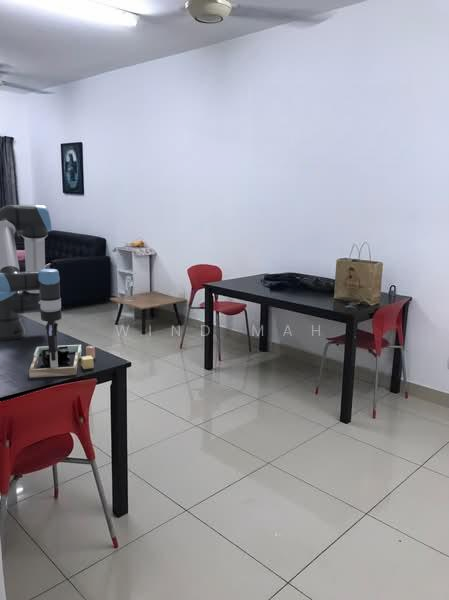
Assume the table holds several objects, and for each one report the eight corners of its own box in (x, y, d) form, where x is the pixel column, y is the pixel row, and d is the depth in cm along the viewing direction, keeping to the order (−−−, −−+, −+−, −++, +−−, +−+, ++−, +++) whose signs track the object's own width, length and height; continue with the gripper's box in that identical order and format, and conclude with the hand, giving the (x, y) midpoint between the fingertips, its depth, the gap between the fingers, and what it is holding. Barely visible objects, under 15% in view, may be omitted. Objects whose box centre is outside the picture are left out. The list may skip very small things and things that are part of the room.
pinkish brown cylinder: (86, 357, 204) (86, 345, 203) (95, 356, 205) (94, 345, 204) (86, 359, 201) (85, 348, 200) (95, 359, 202) (94, 348, 200)
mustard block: (81, 366, 194) (81, 356, 193) (91, 364, 196) (90, 355, 195) (83, 369, 191) (83, 360, 190) (93, 367, 192) (93, 358, 192)
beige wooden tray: (35, 361, 197) (35, 354, 196) (78, 359, 201) (78, 352, 201) (29, 377, 181) (28, 370, 180) (76, 374, 185) (75, 367, 184)
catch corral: (37, 353, 207) (36, 346, 206) (81, 350, 211) (81, 344, 211) (33, 361, 197) (33, 355, 196) (80, 359, 201) (80, 352, 201)
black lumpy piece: (66, 359, 201) (65, 344, 199) (71, 364, 195) (70, 348, 194) (41, 363, 195) (40, 348, 194) (46, 369, 190) (45, 353, 188)
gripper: (42, 305, 188) (46, 361, 193) (38, 314, 176) (42, 373, 181) (62, 305, 190) (65, 360, 195) (59, 313, 177) (62, 372, 183)
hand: (54, 366), depth 188 cm, fingers closed
